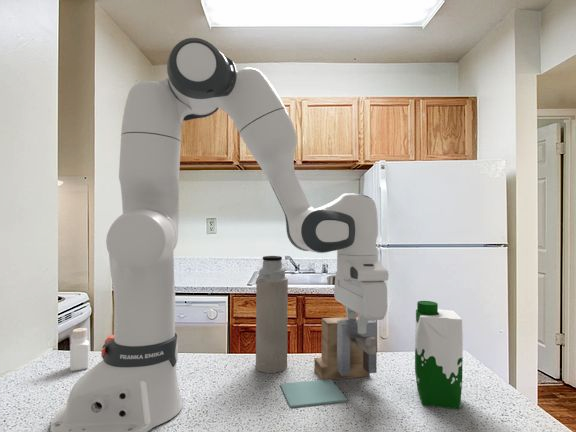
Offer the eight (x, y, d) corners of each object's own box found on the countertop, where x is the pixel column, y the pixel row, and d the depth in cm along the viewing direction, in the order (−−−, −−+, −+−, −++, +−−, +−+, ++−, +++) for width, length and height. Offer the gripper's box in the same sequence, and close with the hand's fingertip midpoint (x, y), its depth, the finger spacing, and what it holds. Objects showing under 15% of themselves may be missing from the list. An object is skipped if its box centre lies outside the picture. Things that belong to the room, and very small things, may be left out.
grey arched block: (342, 375, 78) (342, 324, 78) (337, 370, 81) (337, 320, 81) (376, 372, 80) (376, 322, 80) (370, 367, 83) (370, 318, 83)
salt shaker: (69, 372, 89) (70, 332, 89) (70, 366, 92) (70, 328, 92) (88, 369, 91) (89, 330, 91) (88, 363, 94) (88, 326, 94)
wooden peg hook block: (343, 410, 72) (344, 341, 72) (314, 370, 91) (314, 315, 91) (399, 403, 75) (399, 337, 75) (359, 366, 94) (359, 313, 94)
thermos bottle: (267, 358, 99) (268, 254, 99) (293, 364, 94) (293, 255, 95) (249, 368, 92) (250, 256, 92) (275, 375, 88) (276, 258, 88)
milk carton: (412, 387, 82) (412, 297, 82) (455, 391, 80) (456, 300, 80) (418, 407, 73) (418, 307, 74) (467, 412, 71) (467, 309, 72)
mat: (290, 407, 73) (290, 405, 73) (280, 385, 82) (280, 383, 82) (347, 401, 75) (347, 399, 75) (330, 380, 85) (330, 378, 85)
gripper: (328, 262, 90) (327, 318, 90) (363, 274, 70) (362, 346, 70) (352, 261, 92) (351, 317, 92) (393, 273, 72) (392, 344, 72)
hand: (356, 330), depth 81 cm, fingers closed on grey arched block, 3 cm apart
